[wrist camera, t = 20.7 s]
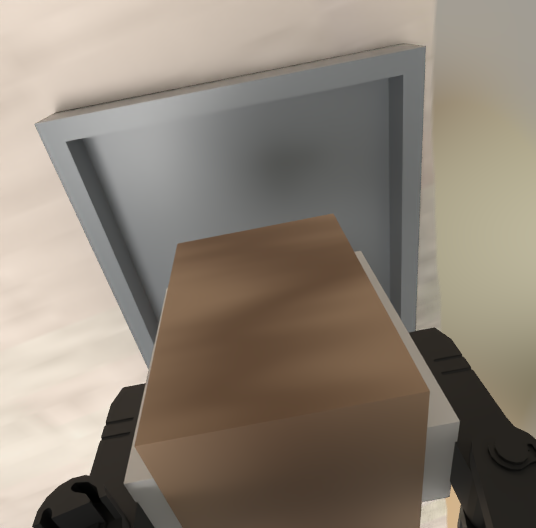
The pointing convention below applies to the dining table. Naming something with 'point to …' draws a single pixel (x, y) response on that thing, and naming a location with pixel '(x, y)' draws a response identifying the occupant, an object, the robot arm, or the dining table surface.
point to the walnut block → (282, 388)
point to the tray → (249, 170)
